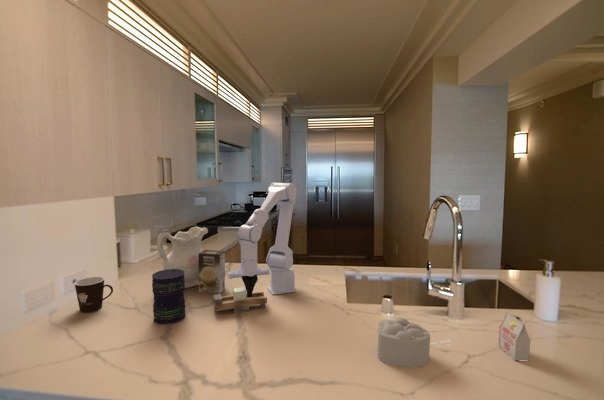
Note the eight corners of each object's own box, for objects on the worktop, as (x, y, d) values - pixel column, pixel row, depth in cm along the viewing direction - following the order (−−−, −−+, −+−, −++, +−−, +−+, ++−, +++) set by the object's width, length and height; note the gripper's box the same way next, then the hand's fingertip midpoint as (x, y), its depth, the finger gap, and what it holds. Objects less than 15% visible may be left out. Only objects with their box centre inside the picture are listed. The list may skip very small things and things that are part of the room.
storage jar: (174, 326, 97) (172, 279, 96) (146, 323, 99) (144, 277, 98) (191, 312, 107) (190, 270, 105) (165, 309, 109) (164, 267, 107)
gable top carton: (511, 346, 88) (514, 312, 87) (528, 361, 81) (531, 324, 80) (498, 346, 88) (500, 312, 87) (514, 361, 81) (517, 324, 80)
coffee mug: (70, 310, 107) (69, 282, 106) (97, 301, 115) (95, 275, 114) (89, 318, 102) (88, 288, 101) (116, 308, 109) (114, 280, 108)
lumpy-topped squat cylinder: (378, 342, 90) (379, 313, 89) (426, 349, 86) (427, 319, 86) (377, 363, 80) (378, 330, 79) (431, 372, 76) (433, 338, 76)
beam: (263, 301, 116) (263, 287, 116) (267, 308, 110) (267, 293, 110) (213, 308, 110) (212, 294, 109) (214, 316, 104) (214, 300, 104)
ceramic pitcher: (177, 299, 120) (179, 236, 117) (146, 285, 130) (147, 227, 127) (218, 283, 138) (221, 228, 135) (189, 272, 148) (191, 220, 145)
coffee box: (198, 292, 124) (197, 253, 123) (204, 287, 130) (204, 249, 129) (220, 294, 123) (219, 254, 122) (225, 288, 129) (225, 250, 128)
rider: (244, 297, 112) (244, 287, 112) (246, 301, 109) (246, 290, 108) (233, 298, 111) (233, 288, 110) (234, 302, 107) (234, 292, 107)
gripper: (229, 263, 103) (230, 303, 105) (272, 259, 108) (272, 297, 110) (227, 258, 110) (227, 295, 111) (267, 254, 115) (267, 290, 116)
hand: (249, 296), depth 111 cm, fingers closed
